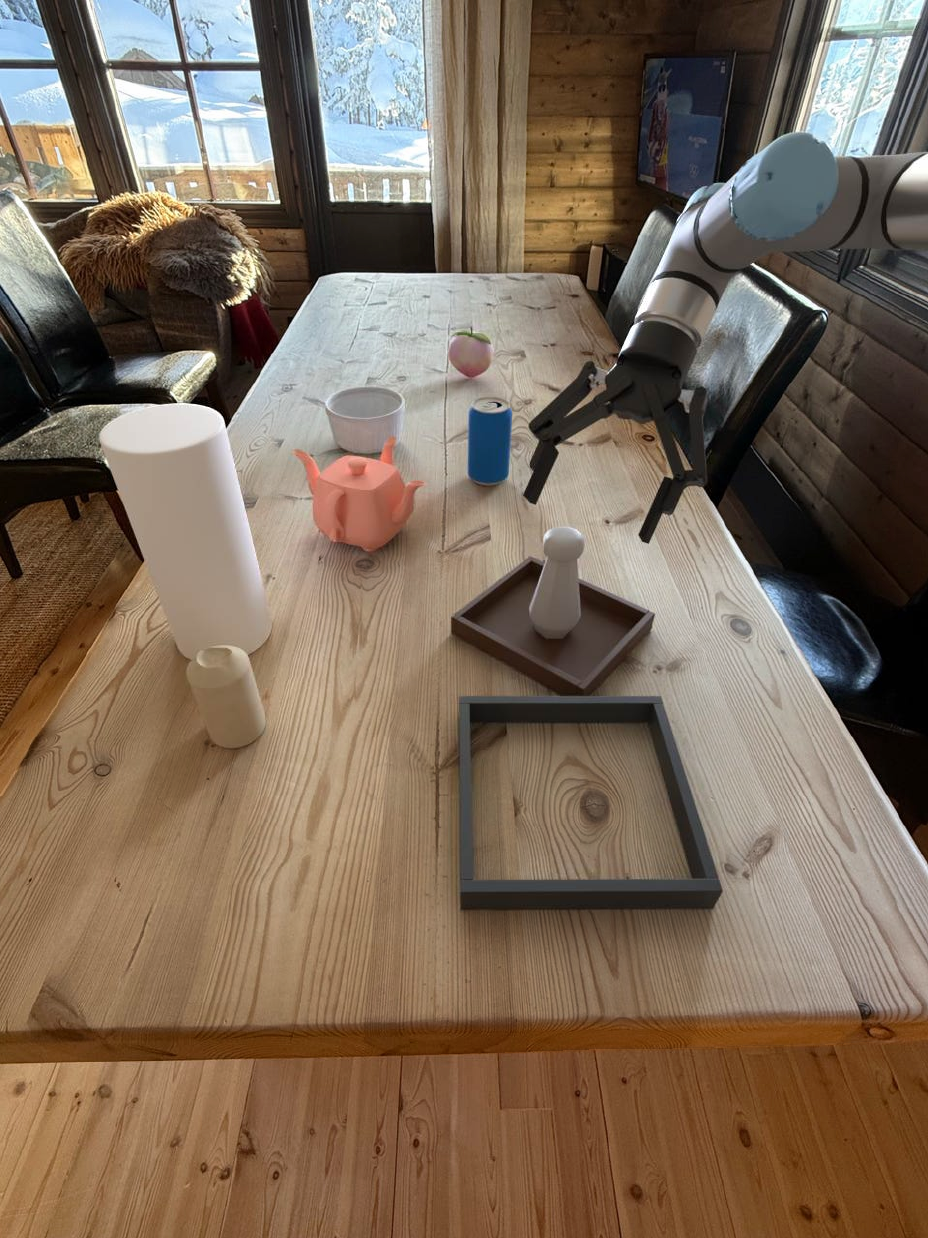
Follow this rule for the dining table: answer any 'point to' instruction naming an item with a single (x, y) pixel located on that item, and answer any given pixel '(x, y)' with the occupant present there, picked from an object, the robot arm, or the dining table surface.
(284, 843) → the dining table surface
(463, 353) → the decorative fruit
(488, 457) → the beverage can
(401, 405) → the ramekin
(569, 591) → the salt shaker
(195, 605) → the tall pillar cylinder
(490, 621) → the tray
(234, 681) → the candle
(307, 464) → the teapot
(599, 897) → the open gray frame
